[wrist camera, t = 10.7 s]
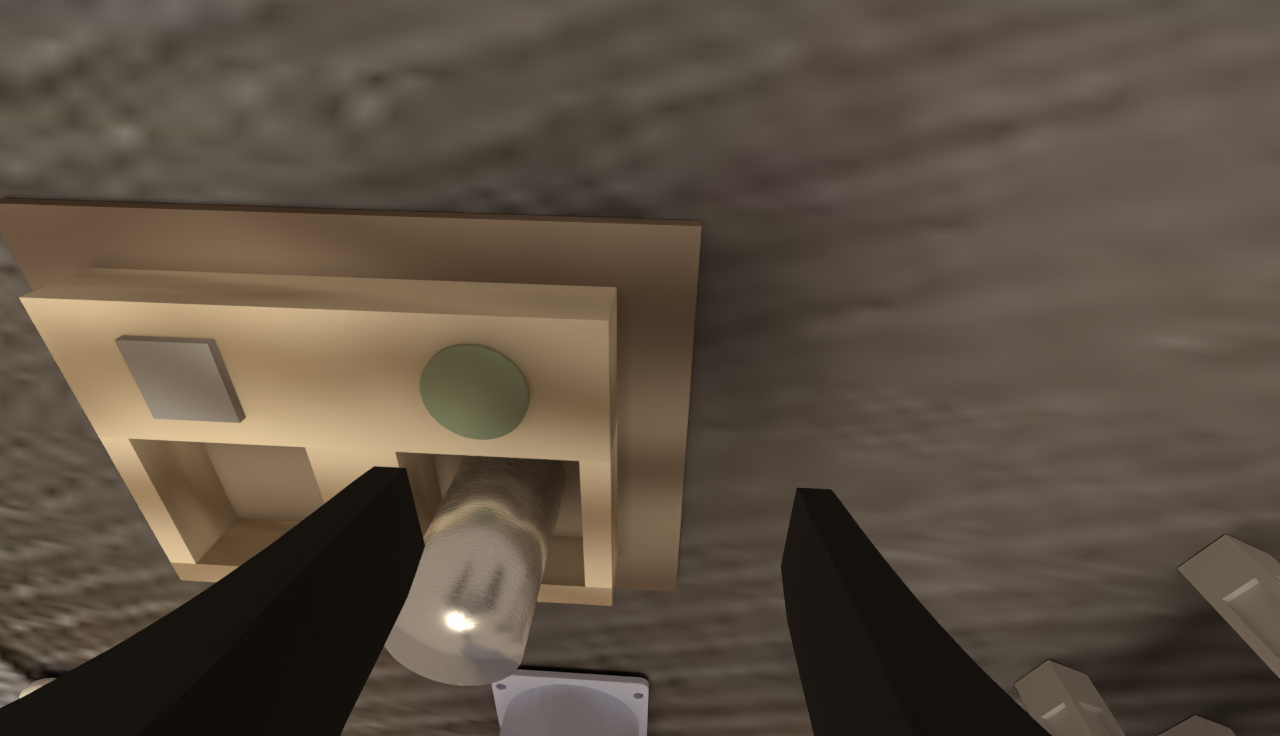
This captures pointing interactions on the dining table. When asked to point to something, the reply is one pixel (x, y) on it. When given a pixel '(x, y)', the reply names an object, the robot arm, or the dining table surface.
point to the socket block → (373, 365)
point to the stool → (1238, 590)
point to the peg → (480, 572)
